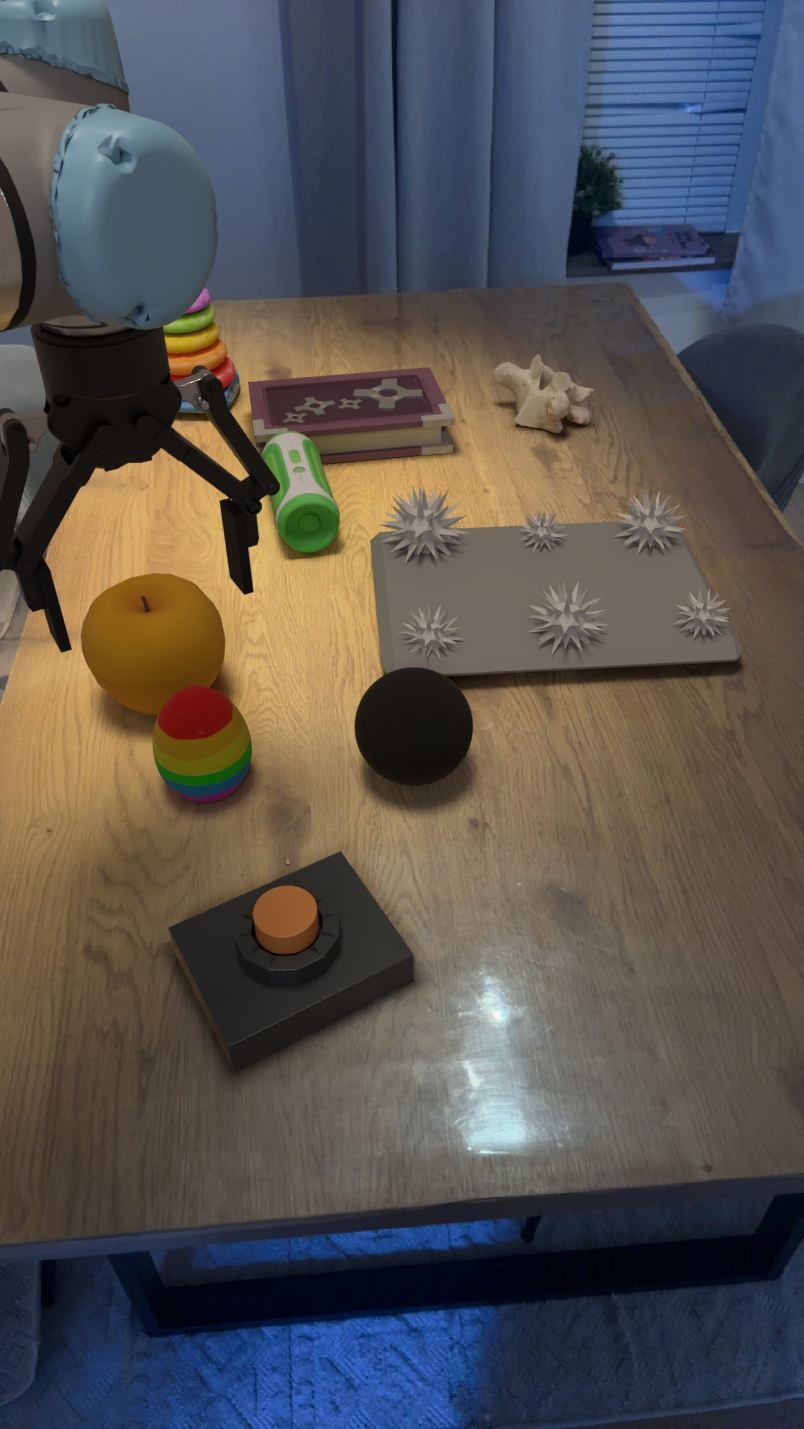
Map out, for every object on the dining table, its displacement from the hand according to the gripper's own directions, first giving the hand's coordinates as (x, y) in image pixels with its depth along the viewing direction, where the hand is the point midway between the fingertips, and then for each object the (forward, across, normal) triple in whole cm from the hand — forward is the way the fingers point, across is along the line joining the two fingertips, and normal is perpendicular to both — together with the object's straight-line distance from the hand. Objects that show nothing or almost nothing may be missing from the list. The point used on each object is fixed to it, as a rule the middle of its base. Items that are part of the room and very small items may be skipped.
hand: (154, 612), depth 73 cm
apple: (+20, +3, +15) cm, 25 cm away
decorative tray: (+19, +42, +8) cm, 47 cm away
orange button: (+15, 0, -19) cm, 24 cm away
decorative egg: (+20, +2, +2) cm, 20 cm away
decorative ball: (+20, +18, -6) cm, 28 cm away
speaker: (+19, +28, +37) cm, 50 cm away
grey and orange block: (+20, 0, -19) cm, 28 cm away
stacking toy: (+19, +30, +74) cm, 82 cm away
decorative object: (+19, +67, +42) cm, 81 cm away
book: (+19, +43, +53) cm, 71 cm away
